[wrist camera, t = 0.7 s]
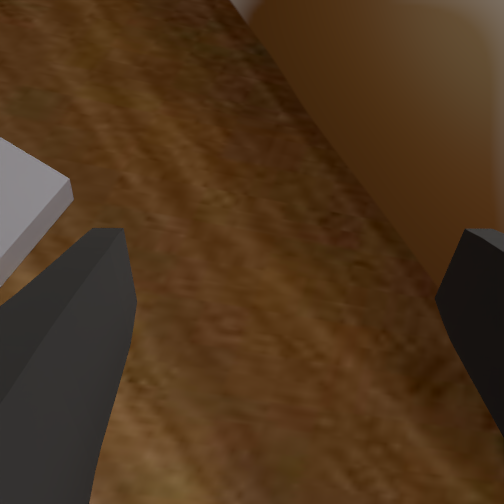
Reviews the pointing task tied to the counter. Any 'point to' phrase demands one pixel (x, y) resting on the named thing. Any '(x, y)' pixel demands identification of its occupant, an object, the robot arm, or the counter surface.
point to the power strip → (26, 204)
